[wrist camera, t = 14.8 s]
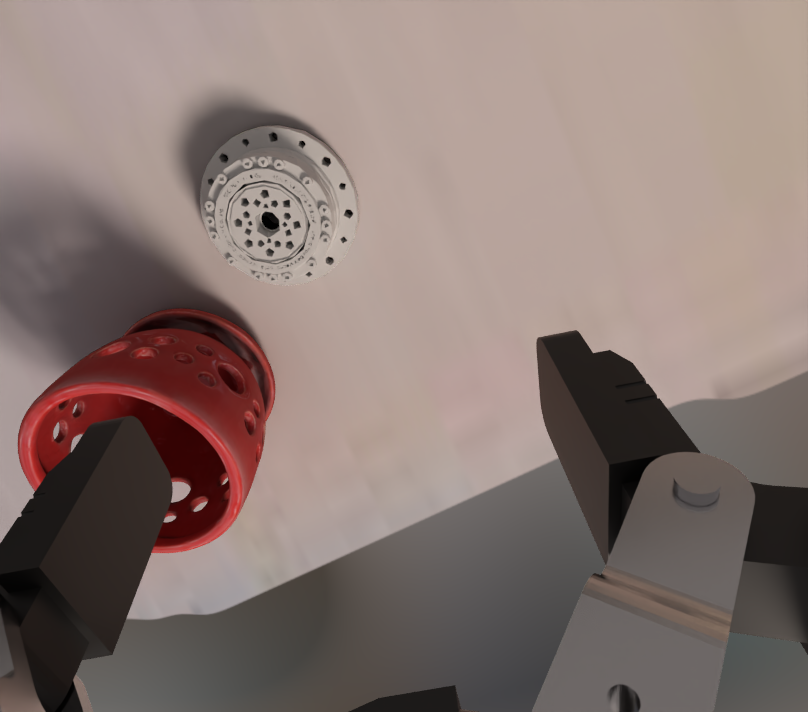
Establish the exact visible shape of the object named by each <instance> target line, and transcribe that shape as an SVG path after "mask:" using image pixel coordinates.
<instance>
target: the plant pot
mask: <svg viewBox="0 0 808 712" xmlns="http://www.w3.org/2000/svg"><path fill="white" fill-rule="evenodd" d="M274 400H275V381H274V376H273V372H272V369H271V366H270V364H269V362H268V360H267V358H266V356H265V354H264V352H263V351H262V349H261V348H260V347H259V345H258V344H257V343H256V342H255V340H254V339H253V338H252V337H251V336H250V335H249V334H248V333H247V332H245V331H244V330H242V329H241V328H240V327H238V326H237V325H235V324H233V323H232V322H230V321H228V320H226V319H224V318H222V317H219V316H217V315H214V314H211V313H208V312H204V311H200V310H194V309H180V308H178V309H168V310H162V311H158V312H155V313H153V314H150V315H148V316H146V317H144V318H143V319H141V320H139V321H138V322H136V323H135V324H134V325H133V326H132V327H131V328H130V329H129V330H128V331H127V332H126V333H125V334H124V336H123V337H122V338H119V339H117V340H115V341H113V342H110V343H108V344H107V345H105V346H103V347H101V348H99V349H98V350H96V351H94V352H92V353H91V354H89V355H88V356H86V357H85V358H83V359H82V360H80V361H79V362H78V363H77V364H75V365H74V366H73V367H71V368H70V369H69V370H68V371H67V372H65V373H64V374H63V375H62V376H61V377H59V378H58V379H57V380H56V381H55V382H54V383H52V384H51V385H50V386H49V387H48V388H47V389H46V390H45V391H44V392H43V393H42V394H41V395H40V396H39V397H38V398H37V399H36V400H35V401H34V402H33V404H32V405H31V406H30V408H29V409H28V411H27V412H26V414H25V416H24V418H23V420H22V423H21V426H20V430H19V434H18V454H19V459H20V463H21V467H22V469H23V472H24V474H25V476H26V478H27V479H28V481H29V483H30V485H31V486H32V488H33V489H34V491H36V490H37V488H38V487H39V485H40V484H41V482H42V481H43V479H44V478H45V476H46V475H47V473H48V472H49V471H51V470H52V469H53V468H54V467H55V466H56V465H57V464H58V463H59V462H60V461H62V460H63V459H64V458H65V457H66V456H67V455H68V454H69V453H71V443H72V440H73V438H74V437H75V436H77V435H79V434H84V433H85V431H86V430H87V428H88V427H89V426H90V425H91V424H93V423H96V422H101V421H106V420H111V419H116V418H121V417H126V416H134V417H136V418H137V419H139V421H140V422H141V423H142V425H143V427H144V428H145V430H146V432H147V434H148V435H149V437H150V439H151V441H152V443H153V444H154V446H155V448H156V450H157V451H158V453H159V455H160V457H161V459H162V460H163V462H164V464H165V466H166V467H167V469H168V471H169V474H170V477H171V481H172V482H184V483H186V484H188V485H189V486H190V488H191V490H190V493H189V494H188V495H187V496H186V497H185V498H184V499H183V500H181V501H179V502H174V503H170V505H169V508H168V511H167V513H166V516H165V517H167V516H176V519H175V520H173V521H171V522H167V523H165V522H163V524H162V526H161V529H160V532H159V534H158V537H157V539H156V542H155V545H154V547H153V550H152V552H151V553H175V552H182V551H187V550H191V549H194V548H197V547H200V546H203V545H205V544H207V543H209V542H211V541H213V540H215V539H216V538H218V537H219V536H221V535H222V534H223V533H224V532H225V531H227V530H228V528H229V527H230V526H231V525H232V524H233V522H234V521H235V520H236V518H237V516H238V515H239V513H240V511H241V509H242V507H243V504H244V502H245V500H246V498H247V496H248V493H249V491H250V488H251V485H252V483H253V480H254V477H255V474H256V470H257V467H258V464H259V461H260V459H261V455H262V451H263V446H264V439H265V422H266V420H267V419H268V417H269V415H270V413H271V410H272V408H273V404H274ZM76 403H77V408H76V410H75V412H74V413H73V409H74V406H75V404H76ZM58 422H59V433H58V436H57V437H56V439H55V440H54V437H53V430H54V428H55V426H56V424H57V423H58ZM227 477H228V481H227V482H226V483H225V484H224V485H222V483H223V482H224V480H225V479H226V478H227ZM207 501H208V502H207ZM203 502H207V504H206V506H205V507H204V508H203V509H202V510H200V511H197V512H193V510H194V509H195V508H196V507H197V506H198V505H199V504H200V503H203Z"/></svg>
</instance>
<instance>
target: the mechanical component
mask: <svg viewBox="0 0 808 712" xmlns="http://www.w3.org/2000/svg"><path fill="white" fill-rule="evenodd" d="M273 132H274V133H276V134H277V136H278V140H276V139H275V138H274V137H273V136H272V135H273ZM247 139H248V141H249V143H248V141H247ZM301 141H304V142H305V144H306V145H305V146H304V145H303V143H302V142H301ZM224 154H226V155H227V156H228V159H229V160H226V158H225V156H224ZM325 157H328V158H330V161H331V163H330V164H327V163H326V162H325V160H324V158H325ZM341 183H344V184H346V186H345V187H344V186H343V185H342V184H341ZM246 184H247V185H246ZM266 190H268V192H266ZM276 201H277V202H276ZM200 205H201V216H202V219H203V221H204V224H205V227H206V229H207V232H208V235H209V238H210V239H211V240H212V242H213V243H214V245H215V246H216V248H217V249H218V251H219V252H220V253H221V255H222V256H223V257H224V258H225V259H226V260H227V262H228V264H229V265H230V266H234V267H235V268H236V269H238V270H240V271H241V272H243V273H245V274H246V275H248V276H250V277H251V278H253V279H255V280H257V281H262V282H266V283H269V284H273V285H283V286H291V285H300V284H307V283H309V282H311V281H313V280H316V279H318V278H320V277H323V276H325V275H327V274H328V273H329V272H330V271H331V270H332V269H333V268H334V267H335V266H336V265H337V264H339V263H340V262H341V261H342V260H343V259H344V257H345V255H346V253H347V252H348V250H349V248H350V246H351V244H352V242H353V240H354V237H355V234H356V230H357V226H358V223H359V212H358V195H357V192H356V188H355V185H354V181H353V179H352V177H351V176H350V174H349V172H348V170H347V168H346V166H345V164H344V162H343V161H342V160H341V159H340V158H339V157H338V156H337V155H336V154H335V153H334V152H333V151H332V150H331V149H330V148H329V147H328V146H327V144H325V143H324V142H322V141H320V140H319V139H317V138H316V137H314V136H312V135H311V134H309V133H307V132H306V131H303V130H299V129H294V128H290V127H285V126H281V125H275V126H261V127H257V128H253V129H250V130H246V131H244V132H242V133H240V134H238V135H236V136H234V137H232V138H231V139H230V140H228V141H227V142H226V143H225V144H224V145H223V146H221V147H220V148H219V149H218V150H217V151H216V152H215V154H214V155H213V157H212V158H211V160H210V161H209V163H208V164H207V167H206V170H205V172H204V175H203V177H202V181H201V189H200ZM346 209H347V210H351V211H352V212H353V214H348V213H347V212H346ZM262 214H263V216H267V217H268V218H269V219H270V220H271V221H272V222H273V223H277V224H278V222H279V227H278V228H277V229H274V230H272V229H268V228H266V227H265V226H264V225H263V223H262V220H261V217H262ZM298 221H299V222H300V223H299V222H298ZM344 237H345V238H346V239H345V238H344ZM305 241H306V242H305ZM328 256H329V257H332V258H333V259H334V260H330V258H329V257H328Z"/></svg>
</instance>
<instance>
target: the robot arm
mask: <svg viewBox="0 0 808 712" xmlns="http://www.w3.org/2000/svg"><path fill="white" fill-rule="evenodd" d="M537 361H538V375H539V388H540V401H541V409H542V414H543V418H544V422H545V426H546V429H547V432H548V434H549V436H550V439H551V441H552V443H553V446H554V448H555V450H556V452H557V455H558V457H559V459H560V462H561V464H562V466H563V468H564V471H565V473H566V475H567V478H568V480H569V482H570V484H571V487H572V489H573V491H574V493H575V496H576V498H577V500H578V503H579V505H580V507H581V510H582V512H583V514H584V517H585V519H586V521H587V523H588V526H589V528H590V530H591V533H592V535H593V537H594V539H595V542H596V544H597V546H598V549H599V551H600V553H601V555H602V558H603V560H604V562H605V565H606V567H605V569H604V571H603V573H602V574H601V575H599V574H596V573H595V574H593V575H592V576H591V577H590V578H589V580H588V581H587V583H586V585H585V587H584V589H583V591H582V593H581V596H580V598H579V601H578V603H577V606H576V608H575V610H574V613H573V615H572V617H571V620H570V622H569V624H568V627H567V629H566V632H565V634H564V636H563V639H562V641H561V643H560V646H559V648H558V651H557V653H556V656H555V658H554V660H553V663H552V665H551V667H550V670H549V672H548V674H547V677H546V679H545V682H544V684H543V686H542V689H541V691H540V693H539V696H538V698H537V701H536V703H535V705H534V708H533V710H532V712H713V711H714V706H715V701H716V696H717V691H718V686H719V681H720V676H721V671H722V666H723V661H724V656H725V651H726V646H727V641H728V636H729V632H733V633H740V634H747V635H754V636H761V637H767V638H775V639H781V640H788V641H789V640H790V641H796V642H800V643H801V644H802V646H803V648H804V649H805V651H806V653H807V654H808V488H800V487H785V486H783V487H782V486H771V485H762V484H757V483H752V482H750V481H749V480H748V479H747V477H746V476H745V475H744V474H743V473H742V472H741V471H740V470H738V469H737V468H736V467H734V466H733V465H731V464H729V463H727V462H726V461H724V460H721V459H719V458H716V457H714V456H710V455H707V454H702V453H700V451H699V450H698V449H697V448H696V446H695V445H694V444H693V442H692V441H691V440H690V438H689V437H688V436H687V434H686V433H685V432H684V430H683V429H682V428H681V426H680V425H679V424H678V422H677V421H676V420H675V419H674V417H673V416H672V414H671V413H670V412H669V411H668V409H667V408H666V407H665V405H664V404H663V403H662V401H661V400H660V399H657V395H656V393H655V392H654V391H653V389H652V388H651V387H650V385H649V384H646V380H645V379H644V378H643V376H642V375H641V374H640V372H639V371H638V370H637V368H636V367H635V366H634V364H633V363H632V362H630V361H628V360H626V359H625V358H623V357H621V356H619V355H618V354H616V353H614V352H612V351H611V350H608V351H603V352H598V353H593V352H592V351H591V349H590V348H589V346H588V345H587V343H586V342H585V340H584V339H583V337H582V336H581V334H580V333H579V332H578V331H577V330H574V331H569V332H564V333H559V334H554V335H549V336H544V337H539V338H538V339H537ZM33 496H34V498H33V499H30V500H29V502H28V503H27V505H26V506H25V508H24V509H23V511H22V512H21V514H22V516H21V517H18V518H17V520H16V521H15V523H14V524H13V526H12V527H11V528H10V530H9V531H8V533H7V534H6V536H5V537H4V539H3V540H2V542H1V543H0V712H93V709H92V706H91V704H90V701H89V698H88V695H87V692H86V689H85V686H84V684H83V682H82V681H81V680H80V679H79V678H78V677H77V676H76V672H77V670H78V668H79V665H80V663H81V661H82V660H86V659H91V658H97V657H102V656H108V655H112V654H113V651H114V649H115V646H116V644H117V641H118V639H119V636H120V633H121V631H122V628H123V626H124V623H125V620H126V618H127V615H128V612H129V610H130V607H131V605H132V602H133V599H134V597H135V594H136V592H137V589H138V586H139V584H140V581H141V579H142V576H143V573H144V571H145V568H146V565H147V563H148V560H149V558H150V555H151V552H152V550H153V547H154V545H155V542H156V539H157V537H158V534H159V532H160V529H161V526H162V524H163V521H164V519H165V516H166V513H167V511H168V508H169V505H170V503H171V499H172V481H171V477H170V474H169V471H168V469H167V467H166V466H165V464H164V462H163V460H162V459H161V457H160V455H159V453H158V451H157V450H156V448H155V446H154V444H153V443H152V441H151V439H150V437H149V435H148V434H147V432H146V430H145V428H144V427H143V425H142V423H141V422H140V421H139V419H137V418H136V417H134V416H126V417H121V418H116V419H111V420H106V421H101V422H96V423H93V424H91V425H90V426H89V427H88V428H87V430H86V431H85V433H84V434H83V436H82V437H81V439H80V440H79V442H78V444H77V445H76V447H75V448H74V450H73V451H72V453H69V454H68V455H67V456H66V457H65V458H64V459H63V460H62V461H60V462H59V463H58V464H57V465H56V466H55V467H54V468H53V469H52V470H51V471H49V472H48V473H47V475H46V476H45V478H44V479H43V481H42V482H41V484H40V485H39V487H38V488H37V490H36V491H35V493H34V494H33ZM350 712H477V711H470V710H462V709H461V706H460V702H459V698H458V694H457V691H456V687H455V686H449V687H442V688H436V689H431V690H424V691H419V692H412V693H407V694H401V695H395V696H389V697H383V698H378V699H376V700H374V701H372V702H369V703H367V704H365V705H363V706H361V707H358V708H356V709H354V710H352V711H350Z"/></svg>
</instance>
